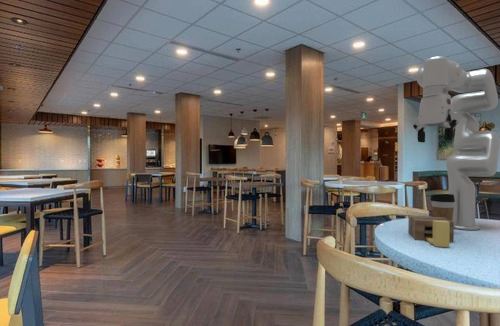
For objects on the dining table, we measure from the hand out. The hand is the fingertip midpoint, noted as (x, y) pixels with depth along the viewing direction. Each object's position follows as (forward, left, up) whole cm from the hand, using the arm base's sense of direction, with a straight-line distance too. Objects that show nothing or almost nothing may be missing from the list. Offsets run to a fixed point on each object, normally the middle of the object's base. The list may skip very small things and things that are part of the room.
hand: (434, 141), depth 108 cm
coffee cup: (-17, +8, -35) cm, 40 cm away
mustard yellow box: (+1, 0, -35) cm, 35 cm away
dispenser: (-4, 0, -35) cm, 35 cm away
